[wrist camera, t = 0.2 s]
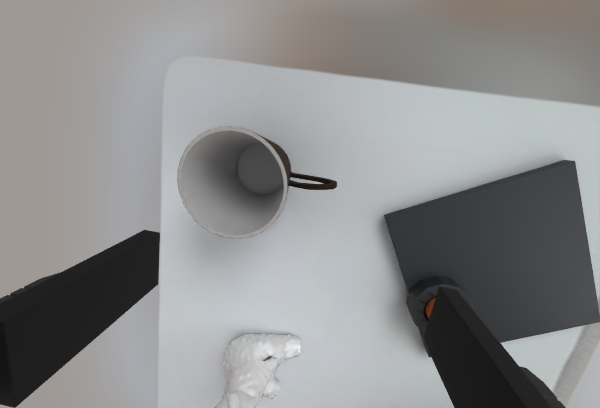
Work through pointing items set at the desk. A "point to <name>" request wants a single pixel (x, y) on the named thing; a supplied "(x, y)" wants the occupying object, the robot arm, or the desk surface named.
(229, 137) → the coffee mug
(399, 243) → the scale
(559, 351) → the desk surface
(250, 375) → the sitting furry creature
